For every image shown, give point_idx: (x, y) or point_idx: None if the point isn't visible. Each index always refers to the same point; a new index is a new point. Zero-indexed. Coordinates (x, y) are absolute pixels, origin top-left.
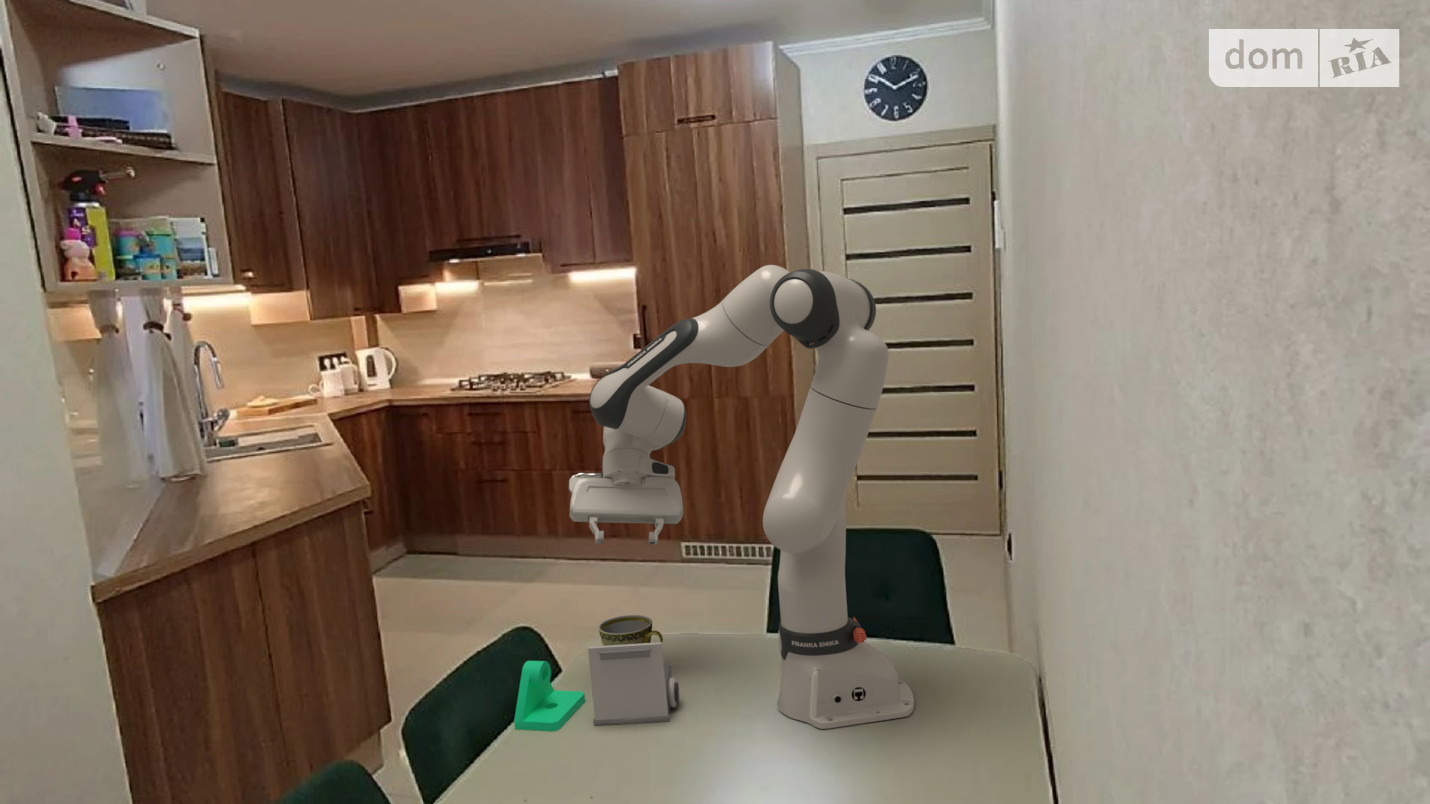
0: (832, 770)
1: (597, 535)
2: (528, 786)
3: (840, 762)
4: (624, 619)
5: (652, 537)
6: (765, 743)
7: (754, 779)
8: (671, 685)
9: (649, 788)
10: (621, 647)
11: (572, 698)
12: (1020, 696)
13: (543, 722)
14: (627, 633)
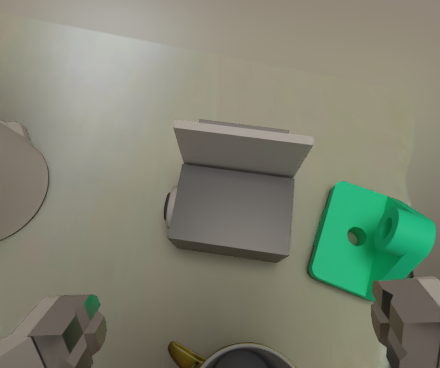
0: (48, 55)
1: (434, 293)
2: (341, 89)
3: (35, 65)
4: None
5: (66, 303)
6: (91, 113)
7: (121, 56)
8: (175, 189)
9: (219, 62)
10: (249, 129)
11: (328, 253)
12: None
13: (356, 185)
14: (242, 343)
